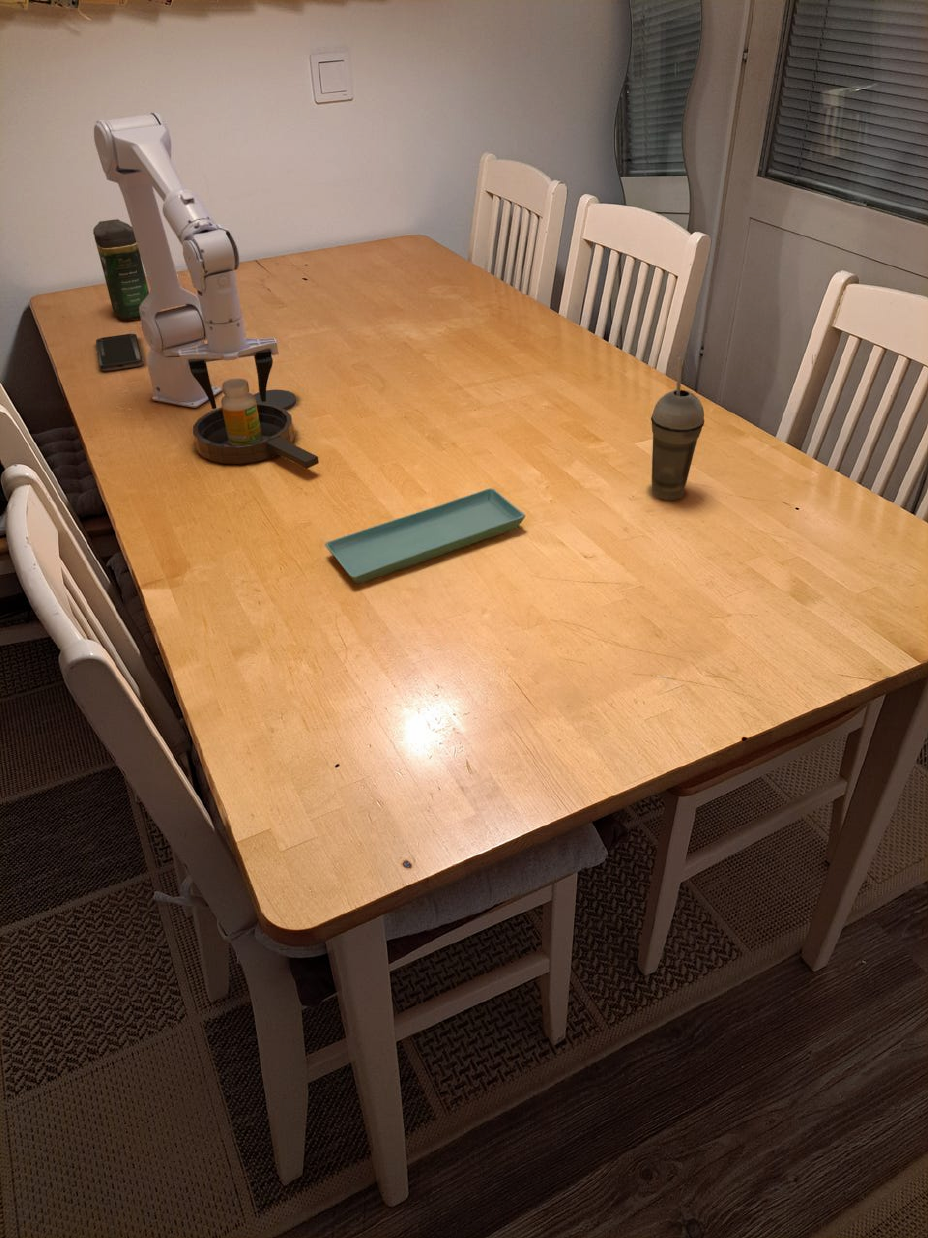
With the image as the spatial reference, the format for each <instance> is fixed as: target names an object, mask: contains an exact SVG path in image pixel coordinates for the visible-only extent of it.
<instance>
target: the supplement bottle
mask: <svg viewBox="0 0 928 1238" xmlns="http://www.w3.org/2000/svg"><path fill="white" fill-rule="evenodd" d="M221 387H222V388H221V389H222V393H223V397H222V398H221V400H220V403H221V407H222V411H223V415H224V420H225V425H226V430H227V436H228V440H229V442H230V444H232V445H240V444H248V443H254V442H257V441H261V439H262V433H261V427H260V421H259V415H258V410H257V404H256V399H255V396H254V394H253V393H251V392H250V385H249V382H248V380H246V379H244V378H231V379H228V380H226V381H224V382H222V384H221Z"/></svg>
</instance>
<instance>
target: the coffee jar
mask: <svg viewBox="0 0 928 1238" xmlns="http://www.w3.org/2000/svg"><path fill="white" fill-rule="evenodd" d="M92 231H93V232H92V234H93V237H94V241H95V245H96V249H97V253H98V256H99V260H100V264H101V268H102V272H103V275H104V279H105V283H106V288H107V291H108V295H109V299H110V303H111V304H110V305H111V307H112V312H113V313H114V315H115V316H116V318H118V319H120V320H122V321H124V320H127V321H129V320H132V321H138V320H141V316H140V312H139V310H140V309H139V307H140V305H141V303H142V302H143V301H144V299H145V298H146V297H147V295H148V294H149V292H150V290H149V287H148V281H147V276H146V272H145V269H144V265H143V262H142V259H141V255H140V252H139V248H138V245H137V242H136V238H135V235H134V232H133V228H132V225H130V224H129V223H127V222H124V221H122V220H120V219H119V218H117V219H116V218H115V219H109V220H100V221H99V222H98V223H97V224H96V225H95V226H94V227H93V230H92Z"/></svg>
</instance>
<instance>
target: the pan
mask: <svg viewBox="0 0 928 1238" xmlns="http://www.w3.org/2000/svg"><path fill="white" fill-rule="evenodd" d="M256 404H257V410H258V415H259V421H260V427H261V433H262V439H261V441H257V442H254V443H248V444H240V445H232V444H230V442H229V440H228V436H227V430H226V425H225V420H224V415H223V411H222V406H221V407H217V408H216V409H212V410H211V411H209V412H206V413H205V414H203V415H202V416H200V417H198V419H197V420H196V421H195V422H194V424H193V425H192V436H193V440H194V444H195V445H194V446H195V449H196V451H197V452H198V453H199V455H200V456H201V457H203V458H205V459H207V460H209V461H212V462H215V463H220V464H225V465H243V464H244V465H246V464H247V465H248V464H252V463H259V462H263V461H265V460H268V459H269V460H270V459H272V458H273V457H276V456H277V455H278V454H276V453H274V452H273V451H271V450H269V449H267V445H266V442H268V441H270V440H272V439H274V438H277V437H280V438H282V439H284V440H286V441H288V442H290V443H292V444H293V442H294V439H295V431H294V424H293V418H292V414H290V412H289V411H287V410H285V409H283V408H281V407H279V406H276V405H271V404H266V403H256Z"/></svg>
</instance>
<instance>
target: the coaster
mask: <svg viewBox="0 0 928 1238" xmlns="http://www.w3.org/2000/svg"><path fill="white" fill-rule="evenodd" d="M253 395H254V396H255V399H256V403H266V404H271V405H276V406H279V407H281V408H283V409H285V410H286V411H287V410H289V409H291V408H293V407H294V406H295V405H296V403H297V397H296V395H295V393H293V392H291V391H289V390H285V389H266V401H265V402H262V401H261V398H260V393H259V392H257V393H254V394H253Z"/></svg>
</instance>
